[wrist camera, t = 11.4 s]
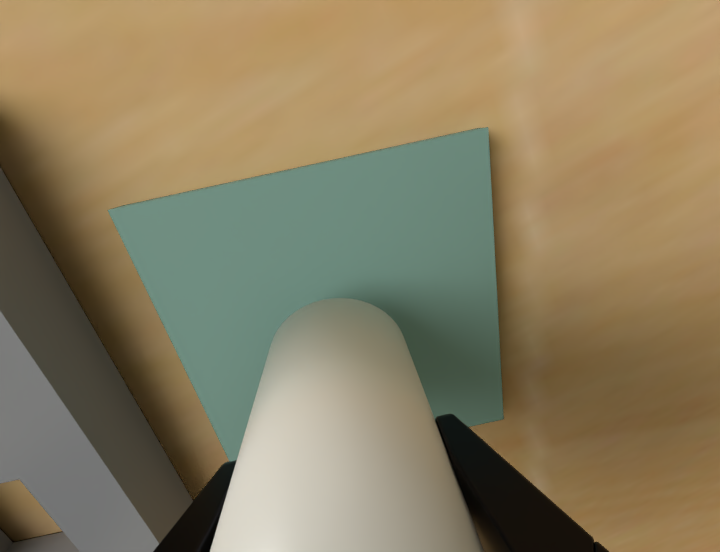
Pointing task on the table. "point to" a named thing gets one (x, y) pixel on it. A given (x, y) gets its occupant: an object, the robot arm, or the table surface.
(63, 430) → the grey board with holes
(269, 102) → the table surface
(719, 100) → the table surface
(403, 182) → the rubber mat
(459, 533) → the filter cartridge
